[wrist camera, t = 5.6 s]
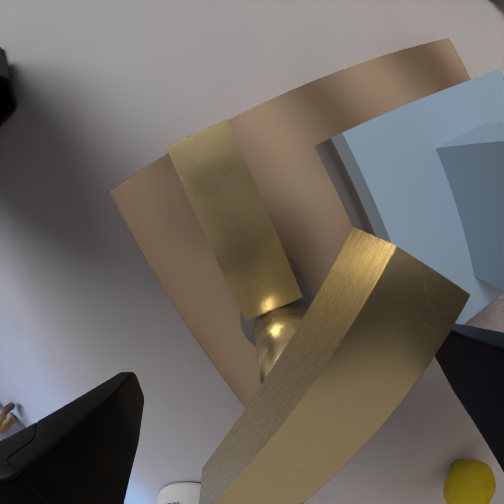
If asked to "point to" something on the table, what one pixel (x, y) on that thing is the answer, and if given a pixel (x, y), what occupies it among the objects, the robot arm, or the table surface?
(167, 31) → the table surface
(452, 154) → the lid
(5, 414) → the lion figurine
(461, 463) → the fruit
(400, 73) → the latch base
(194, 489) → the bath foam
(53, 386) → the table surface
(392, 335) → the quarter turn key
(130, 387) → the robot arm
